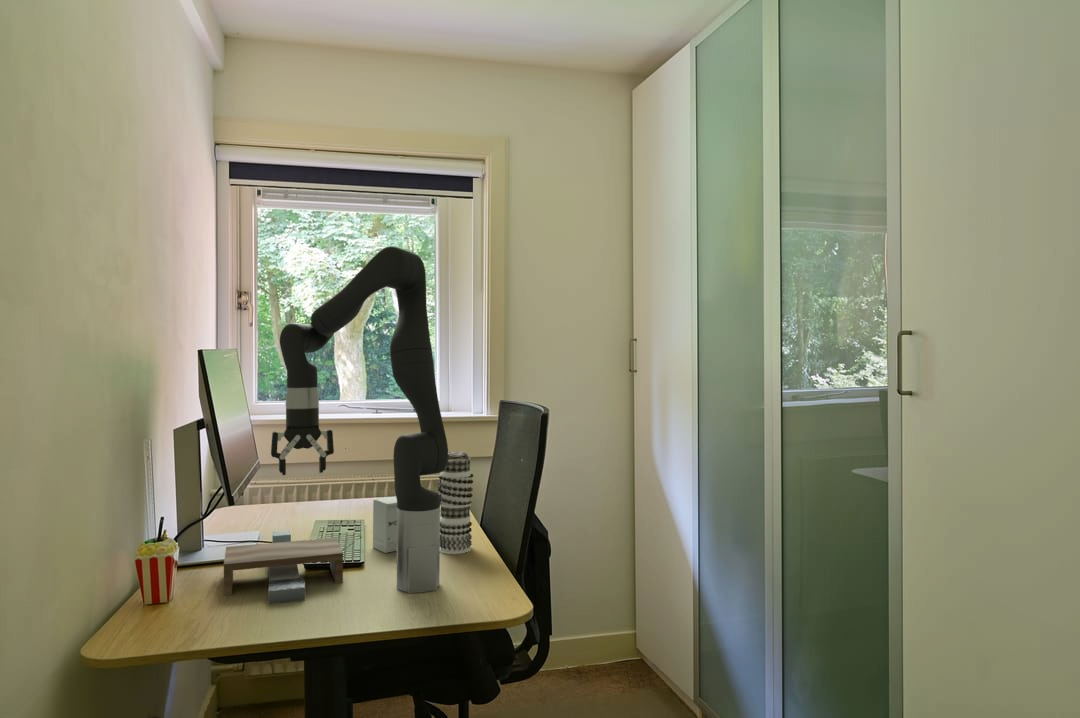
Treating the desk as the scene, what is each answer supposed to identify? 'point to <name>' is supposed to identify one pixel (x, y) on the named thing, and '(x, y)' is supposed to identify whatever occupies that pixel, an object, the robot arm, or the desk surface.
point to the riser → (282, 557)
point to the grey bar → (286, 570)
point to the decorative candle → (455, 504)
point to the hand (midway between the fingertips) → (302, 473)
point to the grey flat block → (286, 590)
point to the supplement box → (385, 524)
